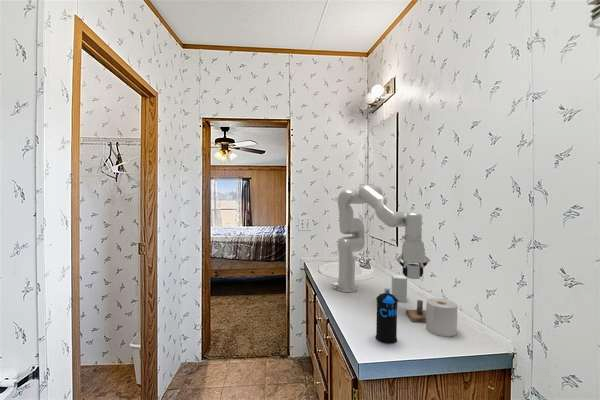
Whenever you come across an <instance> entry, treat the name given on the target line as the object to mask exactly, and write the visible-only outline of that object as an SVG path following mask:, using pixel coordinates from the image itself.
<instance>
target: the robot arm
mask: <svg viewBox="0 0 600 400" xmlns="http://www.w3.org/2000/svg"><path fill="white" fill-rule="evenodd" d="M358 204H359V205H361V204H363V205H364V204H368V205H369V207H371V208H372V209H374V212H375V216H376V217H377V218H378V219H379V221H381V222H382V223H383V224H384V225H386V226H388V227H389V228H402V227H404V235H402V236H401V239H402V240H403V239H404V240H403V243H402V248H401V254H400V255H399V256H398V257H397V258H396V259H395V260H396V262H397V263H398V264H399V265H400V266H401V267H402V275H404V276H407V268H406V266H407V264H408V263H414V264H419V265H421V277H423V275H424V268H425V267H426V266H427V265H428V264H429V263H430V262H431V259H430V258H429V257H427V255H426V250H425V243H424V241H423V240H422V239H423V236H422V235H423V234H422V233H423V231H422V230H423V227H422V226H423V222H422V220H423V217H422V216H423V215H422V214H421V213H419V212H406V211H393V210H391V209H389V208H388V207H387V204H388V199H387V197H386V196H384V192H383V189H382V188H381V187H380V186H379V185H375V184H373V185H371V184H370V185H369V184H365V185H363V186H361V187H360V188H359V189H353V188H352V189H349V188H348V189H344V190H342V191H341V192H339V194H338V196H337V207H338V220H339V221H338V222H339V223H338V224H339V231H340V233H341V234H342V235H350V236H342V237H340V238H339V239H338V241H337V251H338V280H337V281H331V282H330V285H331V286H332V287H335V290H336V291H338V292H342V293H354V292H357V291H358V287H357V286H356V284H355V282H356V281H355V280H356V279H355V278H356V277H355V276H356V273H355V272H356V258H355V255H354V254H353V253H355V252H360V251H362V250H363V249H364V248H365V244H366V243H365V237H366V236H365V225H364V222H363V221H362V220H361V218H359V217H358V218H357V217H355V218H354V210H353V208H352V207H353V206H352V205H358ZM401 260H402V261H403V262H402V261H401Z"/></svg>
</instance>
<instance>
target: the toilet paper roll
mask: <svg viewBox="0 0 600 400" xmlns="http://www.w3.org/2000/svg"><path fill="white" fill-rule="evenodd" d="M425 308H426V309H425V310H426V323H425V328H426V330H427V331H428V332H429V333H431V334H433V335H437V336H440V337H455V336H456V335H457V331H458V330H457V329H458V304H457V303H456V302H454V301H453V300H450V299H446V298H445V299H444V298H433V297H432V298H428V299H427V300H426V307H425Z"/></svg>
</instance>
